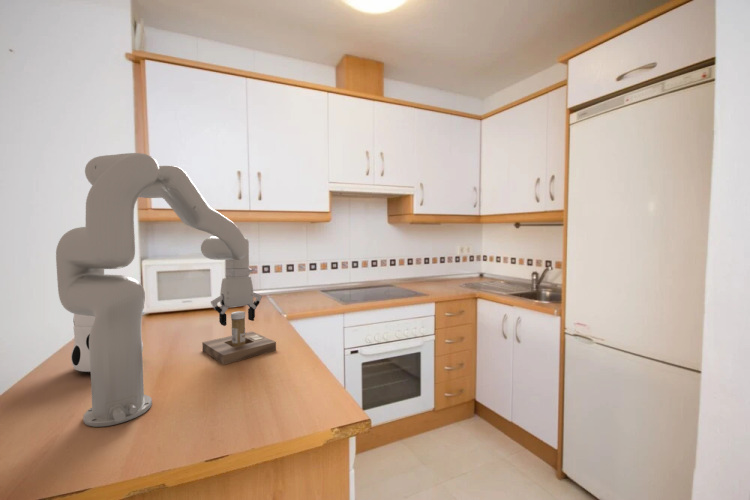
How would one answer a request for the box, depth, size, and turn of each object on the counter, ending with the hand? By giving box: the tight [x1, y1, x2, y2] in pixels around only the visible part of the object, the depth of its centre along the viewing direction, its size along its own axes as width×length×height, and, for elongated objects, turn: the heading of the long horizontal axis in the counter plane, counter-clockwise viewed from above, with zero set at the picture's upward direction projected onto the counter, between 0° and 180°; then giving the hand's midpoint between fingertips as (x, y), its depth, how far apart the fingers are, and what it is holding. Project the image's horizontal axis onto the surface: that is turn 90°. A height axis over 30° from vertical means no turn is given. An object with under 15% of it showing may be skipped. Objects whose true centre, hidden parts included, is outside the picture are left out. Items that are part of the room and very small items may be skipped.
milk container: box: [70, 313, 144, 374], centre depth 105 cm, size 17×17×18 cm
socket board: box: [201, 330, 277, 366], centre depth 119 cm, size 18×18×3 cm
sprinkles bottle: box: [230, 310, 246, 347], centre depth 118 cm, size 5×5×14 cm
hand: (237, 322), depth 118 cm, fingers open, 9 cm apart
